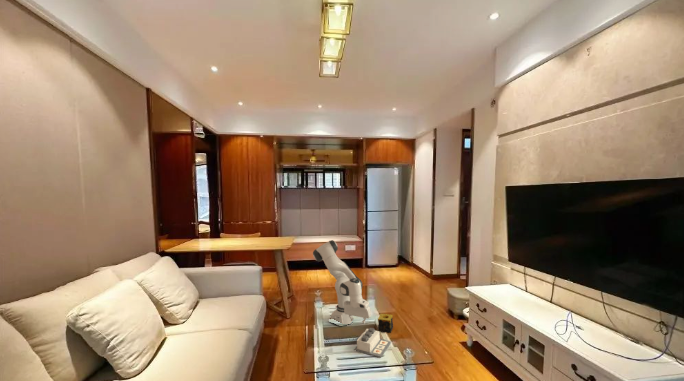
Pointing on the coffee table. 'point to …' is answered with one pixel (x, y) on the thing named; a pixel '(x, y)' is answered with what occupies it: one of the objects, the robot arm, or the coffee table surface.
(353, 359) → the coffee table surface
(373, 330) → the switch
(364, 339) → the switch
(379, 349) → the switch unit
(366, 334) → the switch
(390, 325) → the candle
